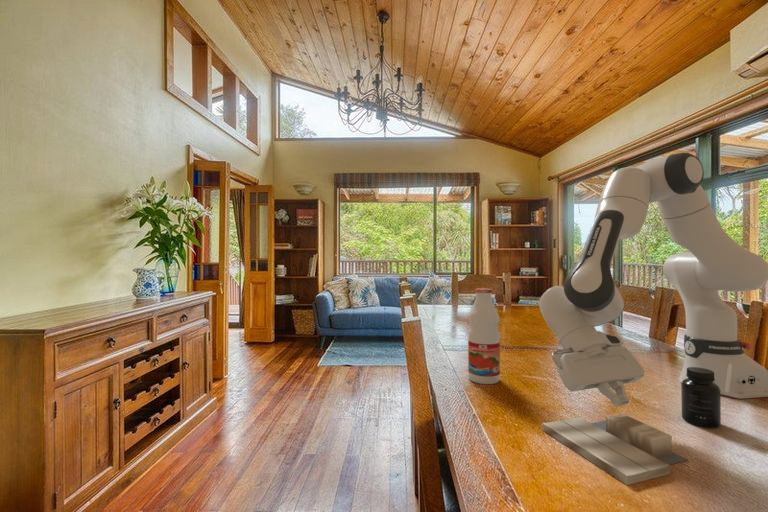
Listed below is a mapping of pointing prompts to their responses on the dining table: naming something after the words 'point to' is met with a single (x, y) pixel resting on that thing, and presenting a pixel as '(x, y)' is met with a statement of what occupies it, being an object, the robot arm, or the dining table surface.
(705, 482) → the dining table surface
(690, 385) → the supplement bottle
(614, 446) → the floor panel
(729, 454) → the dining table surface
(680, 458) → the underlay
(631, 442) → the gray rectangular block
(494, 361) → the fruit juice
